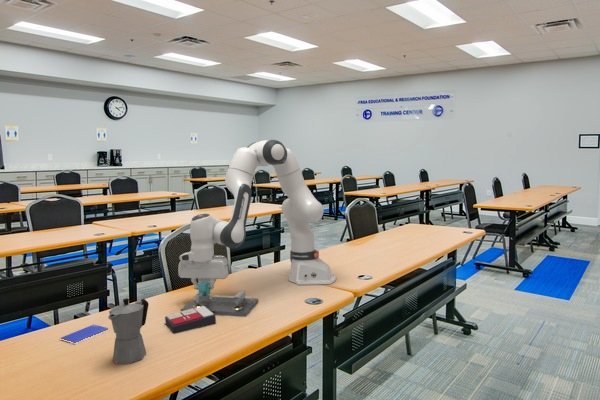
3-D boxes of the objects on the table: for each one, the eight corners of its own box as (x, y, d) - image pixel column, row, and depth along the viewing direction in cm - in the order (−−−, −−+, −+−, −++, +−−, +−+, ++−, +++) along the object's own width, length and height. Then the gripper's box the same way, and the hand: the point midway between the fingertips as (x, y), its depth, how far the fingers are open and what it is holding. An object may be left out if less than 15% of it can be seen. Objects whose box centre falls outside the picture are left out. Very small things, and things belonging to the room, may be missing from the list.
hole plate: (258, 302, 174) (258, 287, 174) (246, 316, 159) (245, 301, 158) (198, 299, 179) (197, 285, 179) (180, 313, 164) (179, 298, 163)
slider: (210, 298, 175) (209, 281, 174) (201, 305, 166) (200, 288, 165) (203, 297, 175) (202, 281, 175) (193, 305, 167) (192, 287, 166)
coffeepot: (125, 370, 120) (121, 307, 118) (100, 365, 124) (95, 304, 122) (162, 347, 135) (158, 291, 133) (138, 343, 138) (134, 288, 136)
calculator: (164, 314, 154) (204, 304, 161) (165, 326, 154) (205, 315, 162) (172, 324, 144) (215, 312, 152) (174, 336, 145) (216, 324, 153)
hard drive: (93, 324, 152) (59, 337, 142) (108, 327, 148) (74, 342, 138) (93, 328, 152) (59, 342, 142) (108, 332, 149) (75, 346, 138)
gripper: (230, 253, 172) (231, 287, 174) (182, 252, 176) (184, 285, 178) (224, 257, 166) (225, 292, 168) (175, 256, 170) (177, 290, 172)
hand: (204, 288), depth 173 cm, fingers open, 5 cm apart
